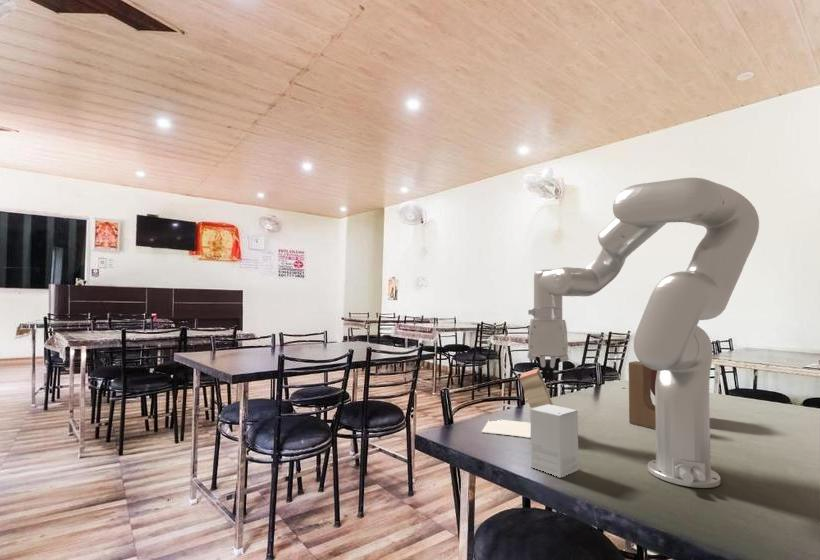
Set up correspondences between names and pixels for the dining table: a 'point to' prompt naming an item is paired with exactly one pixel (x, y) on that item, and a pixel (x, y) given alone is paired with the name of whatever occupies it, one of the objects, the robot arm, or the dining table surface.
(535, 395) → the ash block
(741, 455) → the dining table surface
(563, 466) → the supplement box
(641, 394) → the wooden block
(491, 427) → the pad
